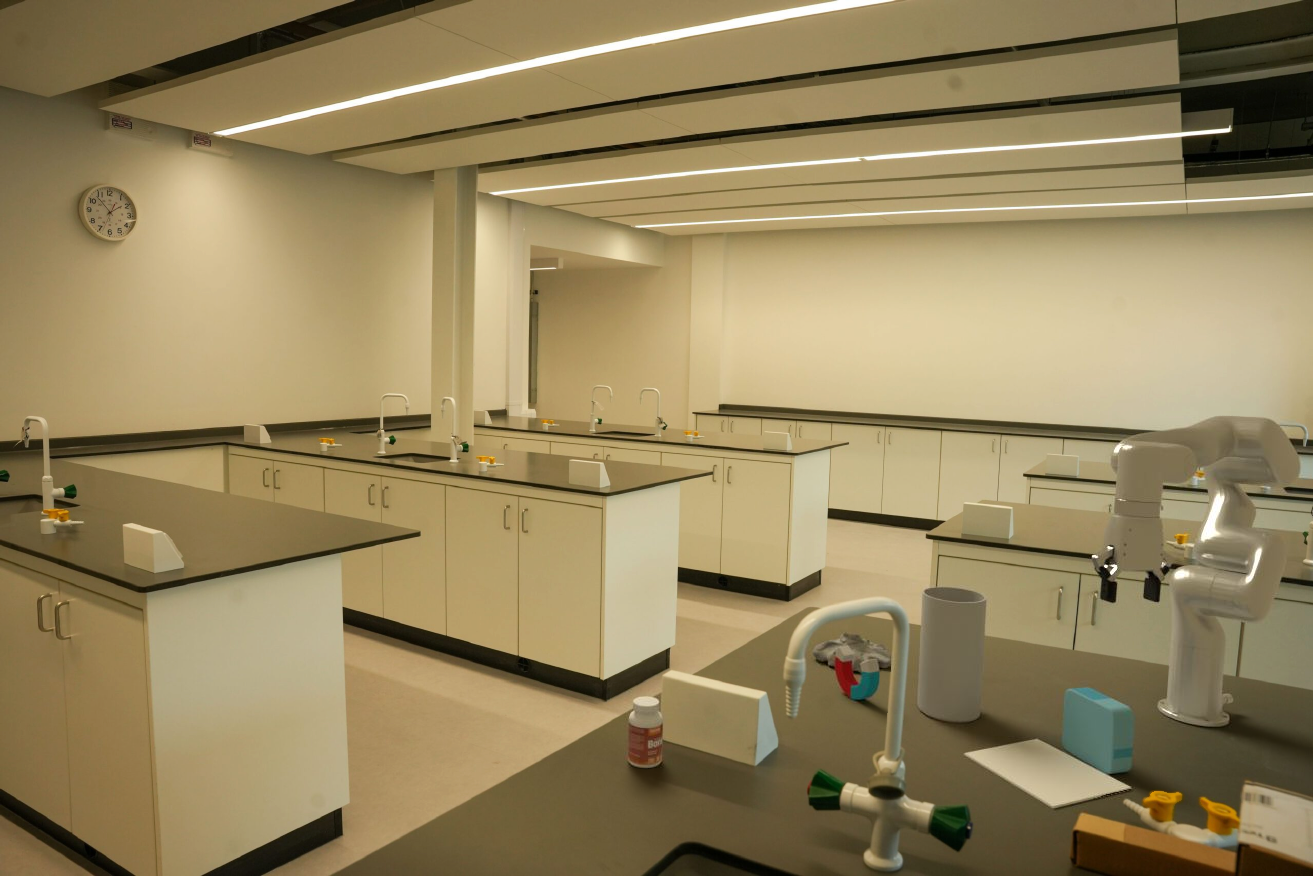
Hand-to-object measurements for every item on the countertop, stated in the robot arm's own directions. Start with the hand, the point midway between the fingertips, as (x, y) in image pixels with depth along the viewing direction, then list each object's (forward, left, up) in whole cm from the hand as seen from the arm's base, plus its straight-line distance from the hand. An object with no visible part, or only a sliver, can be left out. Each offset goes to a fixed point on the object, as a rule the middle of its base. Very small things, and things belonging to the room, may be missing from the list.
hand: (1129, 600), depth 153 cm
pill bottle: (+86, -26, -29) cm, 95 cm away
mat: (+21, +2, -29) cm, 36 cm away
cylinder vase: (+18, -25, -29) cm, 43 cm away
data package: (+8, +2, -29) cm, 30 cm away
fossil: (+18, -57, -29) cm, 67 cm away
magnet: (+32, -38, -29) cm, 58 cm away
